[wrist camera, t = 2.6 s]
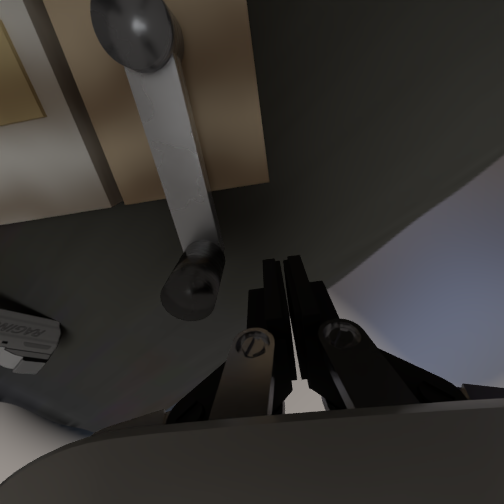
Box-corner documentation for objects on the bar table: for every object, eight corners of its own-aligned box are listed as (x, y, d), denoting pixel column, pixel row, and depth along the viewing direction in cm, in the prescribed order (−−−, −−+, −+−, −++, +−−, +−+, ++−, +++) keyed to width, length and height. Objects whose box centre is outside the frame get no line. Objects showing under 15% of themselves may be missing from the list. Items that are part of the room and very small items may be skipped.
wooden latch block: (-154, 16, 16) (-303, -24, 12) (234, -86, 14) (223, -182, 9) (-16, 217, 22) (-81, 238, 18) (266, 171, 20) (269, 182, 16)
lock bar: (111, 7, 12) (-7, -90, 7) (173, -8, 12) (103, -122, 6) (192, 267, 19) (166, 323, 13) (233, 262, 18) (224, 317, 13)
